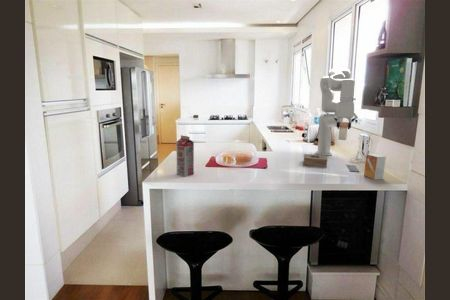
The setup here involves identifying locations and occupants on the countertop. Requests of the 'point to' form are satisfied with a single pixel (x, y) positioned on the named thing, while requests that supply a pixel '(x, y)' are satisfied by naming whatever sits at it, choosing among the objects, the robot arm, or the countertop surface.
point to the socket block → (315, 160)
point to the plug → (343, 130)
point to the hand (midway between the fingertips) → (343, 128)
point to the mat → (352, 168)
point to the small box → (374, 166)
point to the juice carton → (185, 156)
